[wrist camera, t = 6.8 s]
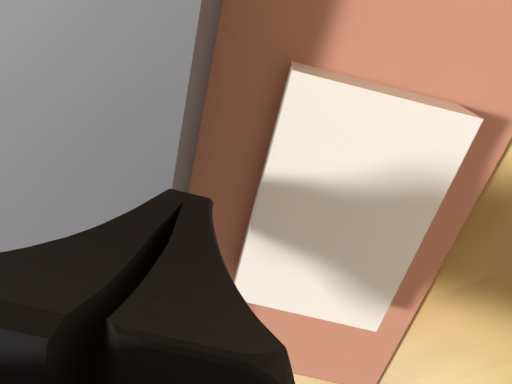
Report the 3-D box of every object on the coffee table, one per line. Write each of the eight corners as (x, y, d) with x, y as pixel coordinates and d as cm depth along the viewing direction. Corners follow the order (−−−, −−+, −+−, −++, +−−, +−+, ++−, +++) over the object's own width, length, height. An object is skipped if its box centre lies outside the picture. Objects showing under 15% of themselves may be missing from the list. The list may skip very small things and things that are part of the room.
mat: (371, 385, 21) (372, 391, 20) (162, 339, 20) (161, 344, 20) (609, -55, 12) (617, -56, 12) (251, -155, 11) (251, -159, 11)
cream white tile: (230, 298, 16) (236, 268, 17) (376, 332, 16) (366, 298, 18) (292, 69, 12) (291, 61, 14) (483, 119, 12) (457, 103, 14)
